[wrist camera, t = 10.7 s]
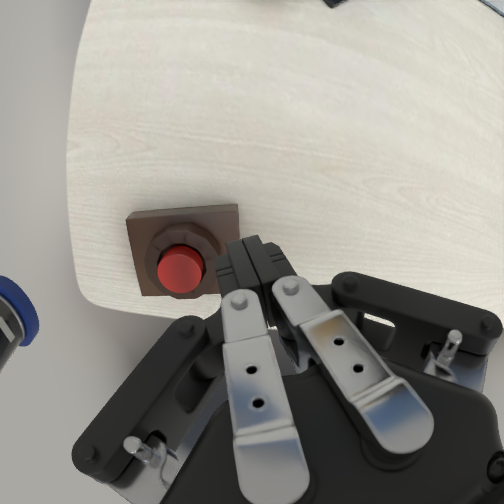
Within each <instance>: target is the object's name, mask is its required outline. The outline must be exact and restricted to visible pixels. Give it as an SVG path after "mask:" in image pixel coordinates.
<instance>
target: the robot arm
mask: <svg viewBox="0 0 504 504" xmlns="http://www.w3.org/2000/svg"><path fill="white" fill-rule="evenodd" d="M226 248H227V252H228V254H224V255H220V256H217V257H216V260H215V262H214V267H215V271H216V276H217V280H218V285H219V289H220V293H221V298H222V301H221V306H220V308H219V309H218V311H217V312H216V313H214V314H213V315H212V316H210V317H208V318H206V319H204V320H203V319H202V318H200V317H198V316H193V315H190V316H184V317H181V318H179V319H177V320H176V321H174V322H173V323H172V324H171V325H170V327H169V328H168V329H167V330H166V331H165V333H164V334H163V335H162V336H161V337H160V338H159V340H158V341H157V342H156V343H155V345H154V346H153V347H152V348H151V349H150V351H149V352H148V353H147V354H146V356H145V357H144V358H143V359H142V360H141V362H140V363H139V364H138V365H137V367H136V368H135V369H134V370H133V371H132V373H131V374H130V375H129V376H128V377H127V379H126V380H125V381H124V382H123V384H122V385H121V386H120V387H119V389H118V390H117V391H116V392H115V394H114V395H113V396H112V397H111V398H110V400H109V401H108V402H107V403H106V405H105V406H104V407H103V408H102V410H101V411H100V412H99V413H98V415H97V416H96V417H95V418H94V420H93V421H92V422H91V423H90V425H89V426H88V427H87V428H86V430H85V431H84V432H83V433H82V435H81V436H80V437H79V438H78V440H77V441H76V442H75V444H74V446H73V449H72V461H73V463H74V465H75V467H76V468H77V469H78V470H79V471H80V472H82V473H84V474H86V475H88V476H90V477H92V478H93V479H95V480H96V481H97V482H100V483H102V484H104V485H106V486H108V487H110V488H112V489H113V490H115V491H116V492H117V493H119V494H120V495H121V496H122V497H124V498H125V499H126V500H128V501H129V502H130V503H132V504H504V449H503V446H502V443H501V439H500V435H499V430H498V421H497V415H496V411H495V409H494V406H493V405H492V403H491V402H490V400H489V399H488V398H487V397H486V396H485V395H483V394H482V392H483V387H484V381H485V375H486V369H487V362H488V356H489V354H490V352H491V351H492V349H493V347H494V346H495V344H496V342H497V340H498V339H499V337H500V335H501V333H502V330H503V326H502V323H501V321H500V319H499V318H498V317H497V316H496V315H495V314H494V313H492V312H490V311H487V310H484V309H481V308H477V307H474V306H471V305H467V304H464V303H460V302H457V301H454V300H450V299H447V298H443V297H440V296H437V295H433V294H430V293H426V292H423V291H419V290H416V289H413V288H409V287H406V286H402V285H399V284H395V283H392V282H388V281H385V280H381V279H378V278H374V277H371V276H367V275H364V274H360V273H357V272H342V273H339V274H337V275H336V276H335V277H334V278H333V279H332V284H330V285H311V284H310V283H309V282H308V281H307V280H306V279H305V278H303V277H300V276H298V275H297V274H296V272H295V271H294V269H293V268H292V266H291V264H290V263H289V261H288V260H287V259H286V256H285V255H284V254H283V252H282V250H281V249H280V247H279V246H277V245H276V244H274V243H272V242H270V243H266V244H262V242H261V240H260V238H259V236H258V235H254V236H250V237H246V238H242V240H241V239H239V240H235V241H231V242H227V243H226ZM365 313H367V314H370V315H373V316H376V317H379V318H382V319H385V320H388V321H390V322H392V323H393V324H394V325H395V327H391V326H388V325H385V324H382V323H379V322H376V321H373V320H370V319H367V318H364V314H365ZM267 321H268V323H267ZM268 324H269V326H270V327H273V326H276V327H277V329H278V331H279V338H280V342H281V343H282V345H283V347H284V349H285V351H286V353H287V355H288V356H289V358H290V360H291V362H292V364H293V365H294V367H295V369H296V371H297V373H298V374H297V375H288V376H281V375H280V370H279V367H278V363H277V360H276V356H275V352H274V349H273V345H272V342H271V338H270V335H269V333H268V331H267V328H268ZM25 336H26V327H25V323H24V321H23V318H22V316H21V315H20V313H19V311H18V310H17V308H16V307H15V306H14V305H13V303H12V302H11V301H10V300H9V299H8V298H7V297H6V296H4V295H3V294H1V293H0V373H1V371H2V369H3V368H4V366H5V365H6V363H7V362H8V360H9V359H10V357H11V356H12V354H13V353H14V351H15V350H16V348H17V347H18V346H19V344H20V343H21V342H22V341H23V340H24V338H25ZM224 371H225V374H226V382H227V390H228V398H229V399H228V400H227V401H225V402H224V403H223V404H222V405H221V406H220V407H219V408H218V409H217V410H216V411H215V412H214V413H213V415H212V416H211V418H210V419H209V421H208V423H207V425H206V426H205V428H204V430H203V432H202V433H201V435H200V437H199V438H198V440H197V442H196V444H195V445H194V447H193V449H192V451H191V452H190V454H189V455H188V457H187V459H186V461H185V462H184V464H183V466H182V467H181V469H180V470H179V472H178V474H177V476H176V473H177V471H178V469H179V459H178V456H177V455H176V453H175V451H176V450H177V448H178V447H179V445H180V444H181V442H182V441H183V439H184V438H185V436H186V435H187V433H188V432H189V430H190V428H191V427H192V425H193V424H194V422H195V421H196V419H197V418H198V416H199V415H200V413H201V411H202V410H203V408H204V407H205V405H206V404H207V402H208V400H209V399H210V397H211V396H212V394H213V393H214V391H215V389H216V388H217V386H218V385H219V383H220V381H221V380H222V378H223V375H224ZM175 476H176V477H175Z"/></svg>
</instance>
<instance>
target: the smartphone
mask: <svg viewBox="0 0 504 504" xmlns="http://www.w3.org/2000/svg"><path fill="white" fill-rule="evenodd" d="M480 1H482V2H484V3H485V4H487V5H488V6H490V7H491V8H492V9H494V10H495V11H497V12H498V13H500V14H501V15H502V16H504V0H480Z"/></svg>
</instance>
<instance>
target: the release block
mask: <svg viewBox="0 0 504 504" xmlns="http://www.w3.org/2000/svg"><path fill="white" fill-rule="evenodd" d="M126 226H127V231H128V236H129V241H130V246H131V251H132V256H133V260H134V265H135V269H136V273H137V278H138V282H139V286H140V290H141V294H142V296H171V297H174V298H176V299H195V298H198V297H200V296H201V295H203V294H221V293H220V289H219V285H218V280H217V276H216V271H215V267H214V262H215V260H216V257H217V256H220V255H224V254H228V252H227V248H226V243H227V242H231V241H235V240H239V239H240V237H239V218H238V204H231V205H215V206H200V207H186V208H174V209H162V210H151V211H140V212H133V213H132V214H131V215H130V216H129V217H128V218H126ZM174 246H187V247H190V248H192V249H193V250H195V251H196V252H197V253H198V254H199V256H200V257H201V259H202V262H203V270H202V275H201V280H200V283H199V284H198V286H197V287H196V288H195V289H193V290H192V291H190V292H187V293H176V292H173V291H170V290H168V289H167V288H166V287H164V286H163V284H162V283H161V282H160V280H159V277H158V266H159V263H160V261H161V259H162V257H163V255H164V253H165V252H166V251H167V250H168V249H170V248H172V247H174Z"/></svg>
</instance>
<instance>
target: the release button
mask: <svg viewBox="0 0 504 504" xmlns="http://www.w3.org/2000/svg"><path fill="white" fill-rule="evenodd" d="M202 270H203V262H202V259H201V257H200V256H199V254H198V253H197V252H196V251H195V250H193V249H192V248H190V247H187V246H174V247H172V248H170V249H168V250H167V251H166V252H165V253H164V255H163V257H162V259H161V261H160V263H159V266H158V277H159V280H160V282H161V283H162V284H163V286H164V287H166V288H167V289H168V290H170V291H173V292H176V293H187V292H190V291H192V290H193V289H195V288H196V287H197V286H198V284H199V283H200V280H201V275H202Z"/></svg>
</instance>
